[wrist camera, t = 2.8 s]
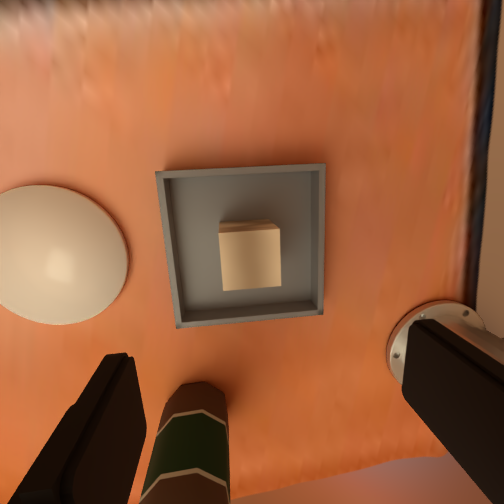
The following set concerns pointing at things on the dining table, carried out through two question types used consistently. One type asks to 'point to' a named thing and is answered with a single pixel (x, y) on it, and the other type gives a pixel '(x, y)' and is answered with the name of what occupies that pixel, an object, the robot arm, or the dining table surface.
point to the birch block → (249, 254)
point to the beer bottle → (190, 450)
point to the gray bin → (238, 209)
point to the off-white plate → (58, 255)
